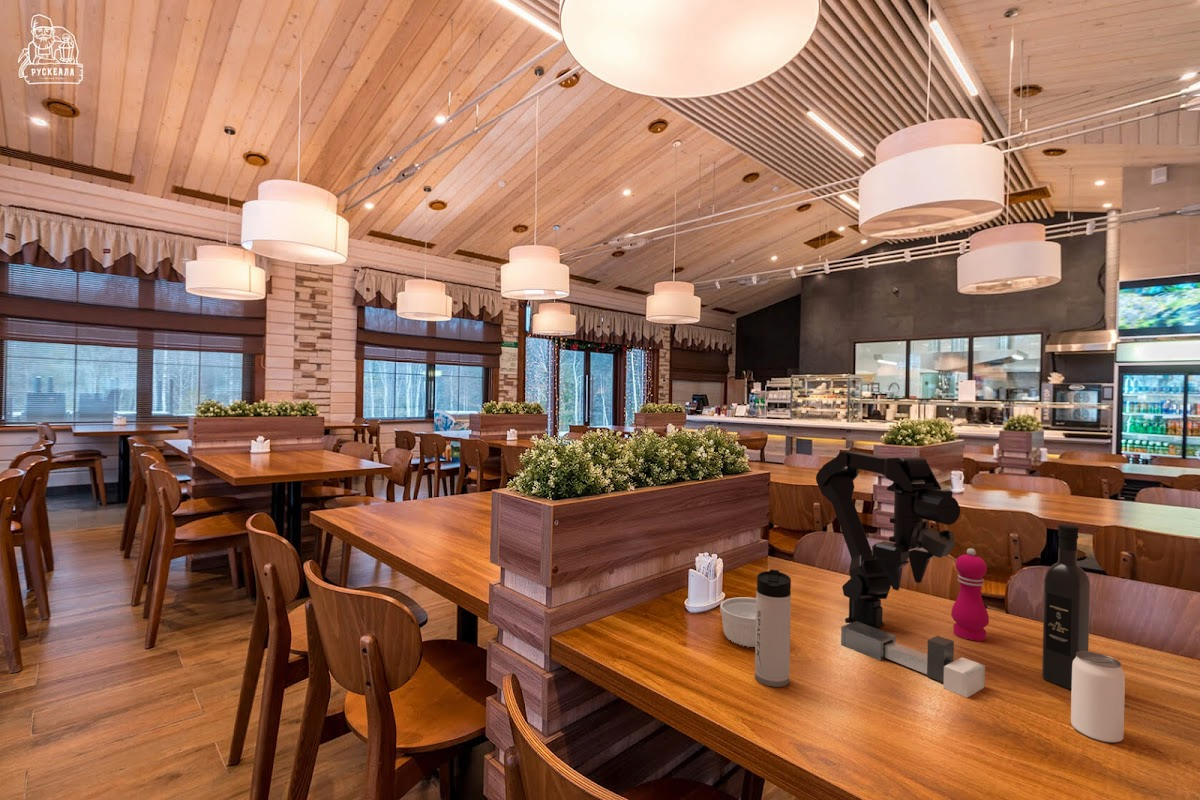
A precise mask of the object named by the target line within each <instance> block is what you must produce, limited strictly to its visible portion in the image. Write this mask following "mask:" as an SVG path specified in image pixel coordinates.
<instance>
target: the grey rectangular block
mask: <svg viewBox="0 0 1200 800" xmlns="http://www.w3.org/2000/svg"><path fill="white" fill-rule="evenodd" d="M985 673H986V665H984V664H982V663H979V662H976V661H974V660H970V659H969V658H964V657H963V656H962V657H960V658H957V659H956V660H953V662H951V663H949V664H948V665H946V666H944V683H943V689H945V690H946V689H947V691H949V692H950V693H951V692H952V693H953V694H956V695H959V696H962V697H964V698H966V699H967V698H969V697H971V696H972V695H974V694H977V693H978V692H980V691H981V690H982V689H984V688H985V685H986V684H985V681H986V680H985V678H986V677H985V675H986V674H985Z"/></svg>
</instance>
